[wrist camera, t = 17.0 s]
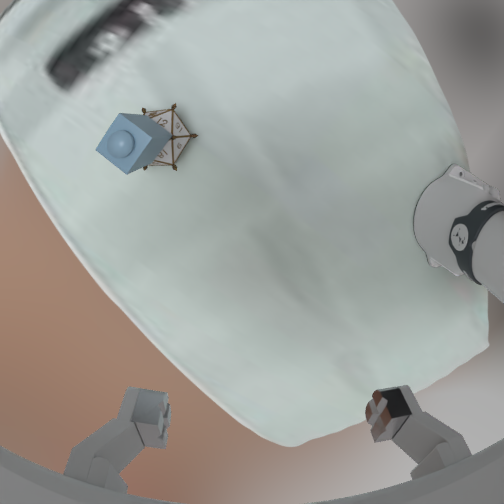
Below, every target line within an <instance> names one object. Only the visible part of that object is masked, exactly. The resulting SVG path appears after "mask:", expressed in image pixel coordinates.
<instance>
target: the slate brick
mask: <svg viewBox="0 0 504 504" xmlns="http://www.w3.org/2000/svg"><path fill="white" fill-rule="evenodd" d="M172 136H173V135H172V134H171V133H169V132H168V131H167V130H165V129H164V128H163V127H161V126H160V125H159V124H157V123H156V122H155V121H153V120H152V119H151V118H149V117H148V116H147V115H138V114H125V113H119V114H118V116H117V117H116V119H115V120H114V122H113V123H112V125H111V126H110V128H109V129H108V131H107V132H106V134H105V135H104V137H103V138H102V140H101V142H100V143H99V145H98V146H97V148H96V151H98V152H99V153H100V154H101V155H103V156H104V157H105V158H106V159H108V160H109V161H110V162H111V163H113V164H114V165H115V166H117V167H118V168H119V169H120V170H122V171H123V172H124V173H125V174H129V173H131V172H133V171H136V170H138V169H140V168H142V167H144V166H147V165H149V164H151V163H152V162H153V161H154V159H155V158H156V157H157V155H158V154H159V153H160V151H161V150H162V149H163V147H164V146H165V145H166V143H167V142H168V141H169V139H170V138H171V137H172Z"/></svg>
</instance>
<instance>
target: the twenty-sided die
mask: <svg viewBox="0 0 504 504" xmlns="http://www.w3.org/2000/svg"><path fill="white" fill-rule="evenodd" d="M175 108H176V103H175V104H174V105H173V106H172V109H168V110H159V111H151V112H146V109H145V108H142V112H143V113H144V114H143V115H147V116H148V117H149V118H151V119H152V120H153V121H155V122H156V123H157V124H159V125H160V126H161V127H163V128H164V129H165V130H167V131H168V132H169V133H171V134H172V135H173V136H172V137H171V138H170V139H169V141H168V142H167V143H166V145H165V146H164V147H163V149H162V150H161V151H160V153H159V154H158V155H157V157H156V158H155V159H154V161H153V162H152V163H151V164H149V165H172V168H173V169H174V170H176V171H177V167H176V165H175V162H176V161H177V159H178V157H179V156H180V154H181V152H182V151H183V149H184V147H185V146H186V144H187V142H188V141H189V139H190V138H191V137H193V138H195V137H197V136H198V135H196V134H192V135H191V134H190V133H189V131H188V130H187V128H186V127H185V125H184V124H183V123H182V121H181V120H180V118H179V117H178V115H177V114H176V112H175V111H174V109H175ZM147 166H148V165H147ZM147 166H144V167H143V168H144V170H146V169H147V168H148V167H147Z"/></svg>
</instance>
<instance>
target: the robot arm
mask: <svg viewBox="0 0 504 504" xmlns="http://www.w3.org/2000/svg"><path fill="white" fill-rule="evenodd" d="M459 173H460V175H459ZM414 231H415V236H416V239H417V241H418V243H419V245H420V246H421V247H422V249H423V250H424V251H425V252H426V254H427V259H428V262H429V264H430V265H431V266H432V267H440V266H443V267H444V268H446V269H447V270H449V271H450V272H451V273H453V274H454V275H456V276H460V275H464V274H465V275H466V276H467V277H468V278H469V279H471V280H472V281H474V282H476V283H477V284H479V285H483V286H484V287H485V288H487V289H488V290H489V291H490V292H491V293H492V294H494V295H495V296H496V297H497V298H498V299H499V300H500V301H501V302H502V303H503V304H504V204H503V203H502V202H501V200H500V194H499V190H498V189H496V188H494V187H492V186H489V185H488V184H486V183H485V182H483V181H482V180H480V179H479V178H477V177H476V176H474V175H473V174H471V173H470V172H468V171H467V170H465V169H463V168H462V167H460V166H458V165H456V164H452V165H451V166H450V167H449V168H448V170H447V171H446V173H445V174H444V175H443V176H442V177H440V178H438V179H437V180H435V181H434V182H432V183H431V184H430V185H429V186H428V187H427V188H426V190H425V191H424V192H423V194H422V195H421V197H420V199H419V202H418V204H417V207H416V211H415V216H414ZM372 397H373V399H372V400H371V401H369V402H368V404H367V406H366V411H365V414H366V419H367V422H368V423H369V424H371V425H372V428H371V433H372V436H373V439H374V442H381V441H386V440H391V439H392V441H393V442H394V443H395V444H396V445H398V446H399V447H400V448H401V449H402V450H403V451H404V452H405V453H406V454H407V455H409V456H410V457H411V458H412V459H413V460H414V461H415V462H416V463H418V465H417V466H416V467H415V468H414V469H413V470H412V472H411V473H410V474H411V477H412V480H410V481H407V482H405V483H401V484H398V485H394V486H391V487H388V488H384V489H380V490H377V491H372V492H368V493H364V494H360V495H355V496H351V497H345V498H340V499H334V500H329V501H321V502H314V503H306V504H504V438H503V439H502V440H500V441H498V442H497V443H495V444H493V445H491V446H489V447H488V448H486V449H484V450H482V451H480V452H478V453H476V454H474V455H472V454H471V452H470V450H469V448H468V446H467V444H466V442H465V440H464V438H463V436H462V435H461V434H460V433H458V432H456V431H455V430H453V429H451V428H450V427H449V426H447V425H445V424H444V423H442V422H441V421H439V420H438V419H436V418H434V417H433V416H431V415H430V414H428V413H427V412H422V410H421V408H420V406H419V404H418V402H417V400H416V398H415V396H414V394H413V393H412V391H411V389H410V387H409V386H408V385H404V386H398V387H391V388H385V389H378V390H376V391H374V393H373V394H372ZM167 402H168V394H167V392H160V391H153V390H147V389H141V388H135V387H128V388H127V390H126V392H125V395H124V398H123V401H122V404H121V407H120V410H119V413H118V417H117V419H114V418H113V419H112V420H110V421H109V422H108V423H106V424H105V425H104V426H102V427H101V428H100V429H98V430H97V431H95V432H94V433H93V434H91V435H90V436H89V437H87V438H86V439H85V440H83V441H82V442H80V443H79V444H78V445H76V446H75V447H73V448H72V451H71V454H70V457H69V459H68V462H67V465H66V469H65V471H64V474H60V473H58V472H55V471H53V470H50V469H48V468H45V467H43V466H40V465H38V464H36V463H34V462H31V461H29V460H27V459H25V458H23V457H21V456H19V455H17V454H15V453H13V452H11V451H9V450H7V449H5V448H4V447H2V446H0V504H184V503H175V502H169V501H162V500H156V499H150V498H144V497H139V496H135V495H130V494H127V488H128V486H127V484H126V483H125V482H124V480H123V479H122V478H121V477H120V475H119V473H120V472H121V471H122V470H123V469H124V468H125V467H126V466H127V465H128V464H129V463H130V462H131V461H132V460H133V459H134V458H135V457H136V456H137V455H138V454H139V453H140V452H141V451H142V450H143V449H144V446H147V447H153V448H161V449H166V444H167V438H168V434H167V430H166V429H167V428H168V427H169V426H170V420H171V408H170V404H168V403H167Z"/></svg>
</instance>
